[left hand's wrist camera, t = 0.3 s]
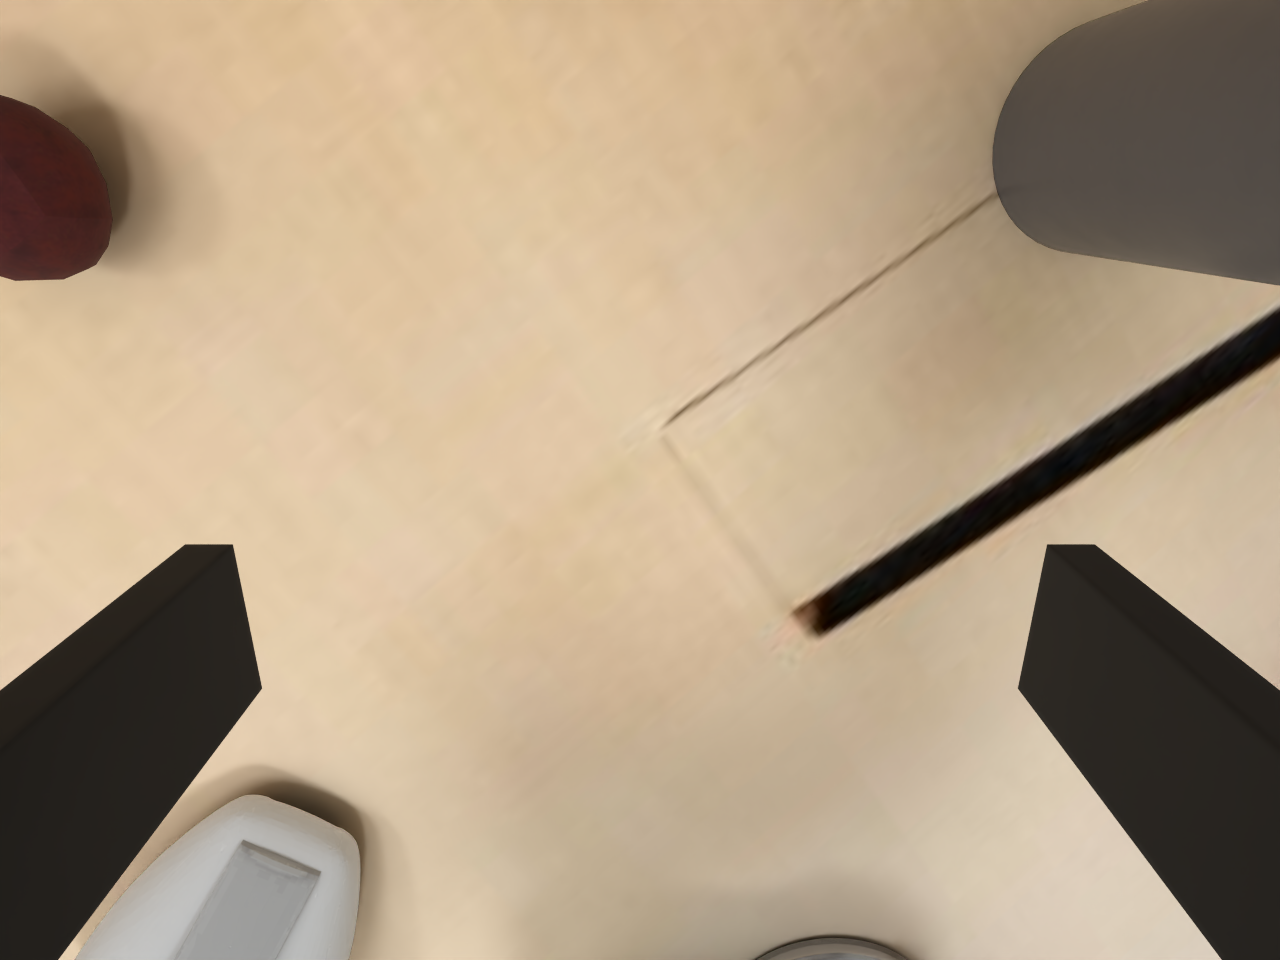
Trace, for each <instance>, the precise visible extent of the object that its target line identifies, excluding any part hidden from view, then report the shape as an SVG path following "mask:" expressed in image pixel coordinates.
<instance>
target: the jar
mask: <svg viewBox="0 0 1280 960" xmlns="http://www.w3.org/2000/svg"><path fill="white" fill-rule="evenodd" d="M993 171H994V179H995V184H996V188H997V192H998V194H999V197H1000V200H1001V202H1002V205H1003V206H1004V208H1005V210H1006V212H1007V213H1008V215H1009V217H1010V218H1011V219H1012V220H1013V222H1014V223H1015V224H1016V226H1017V227H1018V228H1019V229H1021V230H1022V231H1023V232H1024V233H1025V234H1026V235H1027V236H1029V237H1030V238H1032V239H1033V240H1035V241H1036V242H1038V243H1040V244H1042V245H1044V246H1046V247H1048V248H1052V249H1055V250H1058V251H1062V252H1068V253H1075V254H1081V255H1088V256H1094V257H1100V258H1107V259H1113V260H1120V261H1126V262H1132V263H1139V264H1145V265H1152V266H1158V267H1164V268H1171V269H1177V270H1184V271H1190V272H1197V273H1203V274H1209V275H1216V276H1222V277H1229V278H1235V279H1241V280H1248V281H1254V282H1261V283H1267V284H1273V285H1280V0H1148V1H1145V2H1142V3H1140V4H1137V5H1134V6H1131V7H1129V8H1126V9H1123V10H1120V11H1118V12H1115V13H1112V14H1109V15H1107V16H1104V17H1101V18H1098V19H1096V20H1093V21H1090V22H1088V23H1085V24H1083V25H1081V26H1079V27H1076V28H1074V29H1072V30H1071V31H1069V32H1067V33H1066V34H1064V35H1062V36H1060V37H1059V38H1058V39H1056V40H1055V41H1054V42H1052V43H1051V44H1050V45H1048V46H1047V47H1046V48H1045V49H1044V50H1043V51H1042V52H1041V53H1040V54H1039V55H1038V56H1037V57H1035V58H1034V59H1033V61H1032V62H1031V63H1030V64H1029V65H1028V67H1027V68H1026V69H1025V70H1024V71H1023V73H1022V74H1021V76H1020V77H1019V79H1018V80H1017V82H1016V83H1015V85H1014V86H1013V88H1012V90H1011V92H1010V94H1009V96H1008V98H1007V99H1006V101H1005V104H1004V106H1003V109H1002V112H1001V114H1000V117H999V120H998V124H997V128H996V132H995V138H994V145H993Z"/></svg>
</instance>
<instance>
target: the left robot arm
mask: <svg viewBox="0 0 1280 960" xmlns="http://www.w3.org/2000/svg"><path fill="white" fill-rule="evenodd" d="M261 689H262V686H261V681H260V676H259V671H258V666H257V661H256V656H255V651H254V647H253V642H252V637H251V632H250V627H249V622H248V617H247V612H246V607H245V602H244V597H243V592H242V587H241V583H240V578H239V573H238V568H237V563H236V558H235V553H234V548H233V545H184V546H183V547H181V548H180V549H179V550H178V551H176V552H175V553H174V554H173V555H171V556H170V557H169V558H168V559H166V560H165V561H164V562H162V563H161V564H160V565H159V566H157V567H156V568H155V569H154V570H152V571H151V572H150V573H149V574H147V575H146V576H145V577H143V578H142V579H141V580H140V581H138V582H137V583H136V584H135V585H133V586H132V587H131V588H130V589H128V590H127V591H126V592H124V593H123V594H122V595H121V596H119V597H118V598H117V599H116V600H114V601H113V602H112V603H111V604H109V605H108V606H107V607H105V608H104V609H103V610H102V611H100V612H99V613H98V614H97V615H95V616H94V617H93V618H92V619H90V620H89V621H88V622H86V623H85V624H84V625H83V626H81V627H80V628H79V629H78V630H76V631H75V632H74V633H73V634H71V635H70V636H69V637H67V638H66V639H65V640H64V641H62V642H61V643H60V644H59V645H57V646H56V647H55V648H54V649H52V650H51V651H50V652H48V653H47V654H46V655H45V656H43V657H42V658H41V659H40V660H38V661H37V662H36V663H34V664H33V665H32V666H31V667H29V668H28V669H27V670H26V671H24V672H23V673H22V674H21V675H19V676H18V677H17V678H15V679H14V680H13V681H12V682H10V683H9V684H8V685H7V686H5V687H4V688H3V689H2V690H0V960H58V959H59V958H60V957H61V955H62V954H63V953H64V951H65V950H66V949H67V947H68V946H69V945H70V943H71V942H72V941H73V939H74V938H75V937H76V935H77V934H78V933H79V931H80V930H81V929H82V927H83V926H84V925H85V923H86V922H87V921H88V919H89V918H90V917H91V915H92V914H93V913H94V911H95V910H96V909H97V907H98V906H99V905H100V903H101V902H102V901H103V899H104V898H105V897H106V895H107V894H108V893H109V891H110V890H111V889H112V887H113V886H114V885H115V883H116V882H117V881H118V879H119V878H120V877H121V875H122V874H123V873H124V871H125V870H126V869H127V867H128V866H129V865H130V863H131V862H132V861H133V859H134V858H135V857H136V855H137V854H138V853H139V851H140V850H141V849H142V847H143V846H144V845H145V843H146V842H147V841H148V839H149V838H150V837H151V835H152V834H153V833H154V831H155V830H156V829H157V828H158V826H159V825H160V824H161V822H162V821H163V820H164V818H165V817H166V816H167V814H168V813H169V812H170V810H171V809H172V808H173V806H174V805H175V804H176V802H177V801H178V800H179V798H180V797H181V796H182V794H183V793H184V792H185V790H186V789H187V788H188V786H189V785H190V784H191V782H192V781H193V780H194V778H195V777H196V776H197V774H198V773H199V772H200V770H201V769H202V768H203V766H204V765H205V764H206V762H207V761H208V760H209V758H210V757H211V756H212V754H213V753H214V752H215V750H216V749H217V748H218V746H219V745H220V744H221V742H222V741H223V740H224V738H225V737H226V736H227V734H228V733H229V732H230V730H231V729H232V728H233V726H234V725H235V724H236V722H237V721H238V720H239V718H240V717H241V716H242V714H243V713H244V712H245V710H246V709H247V708H248V706H249V705H250V704H251V702H252V701H253V700H254V698H255V697H256V696H257V694H258V693H259V692H260V690H261ZM1018 689H1019V690H1020V692H1021V693H1022V694H1023V696H1024V697H1025V698H1026V700H1027V701H1028V702H1029V704H1030V705H1031V706H1032V708H1033V709H1034V710H1035V712H1036V713H1037V714H1038V716H1039V717H1040V718H1041V720H1042V721H1043V722H1044V724H1045V725H1046V726H1047V728H1048V729H1049V730H1050V732H1051V733H1052V734H1053V736H1054V737H1055V738H1056V740H1057V741H1058V742H1059V744H1060V745H1061V746H1062V748H1063V749H1064V750H1065V752H1066V753H1067V754H1068V756H1069V757H1070V758H1071V760H1072V761H1073V762H1074V764H1075V765H1076V766H1077V768H1078V769H1079V770H1080V772H1081V773H1082V774H1083V776H1084V777H1085V778H1086V780H1087V781H1088V782H1089V784H1090V785H1091V786H1092V788H1093V789H1094V790H1095V792H1096V793H1097V794H1098V796H1099V797H1100V798H1101V800H1102V801H1103V802H1104V804H1105V805H1106V806H1107V808H1108V809H1109V810H1110V812H1111V813H1112V814H1113V816H1114V817H1115V818H1116V820H1117V821H1118V822H1119V824H1120V825H1121V826H1122V828H1123V829H1124V830H1125V831H1126V833H1127V834H1128V835H1129V837H1130V838H1131V839H1132V841H1133V842H1134V843H1135V845H1136V846H1137V847H1138V849H1139V850H1140V851H1141V853H1142V854H1143V855H1144V857H1145V858H1146V859H1147V861H1148V862H1149V863H1150V865H1151V866H1152V867H1153V869H1154V870H1155V871H1156V873H1157V874H1158V875H1159V877H1160V878H1161V879H1162V881H1163V882H1164V883H1165V885H1166V886H1167V887H1168V889H1169V890H1170V891H1171V893H1172V894H1173V895H1174V897H1175V898H1176V899H1177V901H1178V902H1179V903H1180V905H1181V906H1182V907H1183V909H1184V910H1185V911H1186V913H1187V914H1188V915H1189V917H1190V918H1191V919H1192V921H1193V922H1194V923H1195V925H1196V926H1197V927H1198V929H1199V930H1200V931H1201V933H1202V934H1203V935H1204V937H1205V938H1206V939H1207V941H1208V942H1209V943H1210V945H1211V946H1212V947H1213V949H1214V950H1215V951H1216V953H1217V954H1218V955H1219V957H1220V958H1221V959H1222V960H1280V690H1278V689H1277V688H1276V687H1275V686H1273V685H1272V684H1271V683H1270V682H1268V681H1267V680H1266V679H1265V678H1263V677H1262V676H1261V675H1259V674H1258V673H1257V672H1256V671H1254V670H1253V669H1252V668H1251V667H1249V666H1248V665H1247V664H1246V663H1244V662H1243V661H1242V660H1240V659H1239V658H1238V657H1237V656H1235V655H1234V654H1233V653H1232V652H1230V651H1229V650H1228V649H1226V648H1225V647H1224V646H1223V645H1221V644H1220V643H1219V642H1218V641H1216V640H1215V639H1214V638H1213V637H1211V636H1210V635H1209V634H1207V633H1206V632H1205V631H1204V630H1202V629H1201V628H1200V627H1199V626H1197V625H1196V624H1195V623H1194V622H1192V621H1191V620H1190V619H1188V618H1187V617H1186V616H1185V615H1183V614H1182V613H1181V612H1180V611H1178V610H1177V609H1176V608H1175V607H1173V606H1172V605H1171V604H1169V603H1168V602H1167V601H1166V600H1164V599H1163V598H1162V597H1161V596H1159V595H1158V594H1157V593H1156V592H1154V591H1153V590H1152V589H1150V588H1149V587H1148V586H1147V585H1145V584H1144V583H1143V582H1142V581H1140V580H1139V579H1138V578H1137V577H1135V576H1134V575H1133V574H1131V573H1130V572H1129V571H1128V570H1126V569H1125V568H1124V567H1123V566H1121V565H1120V564H1119V563H1118V562H1116V561H1115V560H1114V559H1112V558H1111V557H1110V556H1109V555H1107V554H1106V553H1105V552H1104V551H1102V550H1101V549H1100V548H1099V547H1097V546H1096V545H1047V548H1046V553H1045V558H1044V563H1043V568H1042V573H1041V578H1040V583H1039V587H1038V592H1037V597H1036V602H1035V607H1034V612H1033V617H1032V622H1031V627H1030V632H1029V637H1028V642H1027V647H1026V651H1025V656H1024V661H1023V666H1022V671H1021V676H1020V681H1019V686H1018ZM757 960H907V959H906V958H904V957H903V956H901V955H900V954H898V953H896V952H894V951H892V950H890V949H888V948H886V947H883V946H880V945H878V944H874V943H871V942H867V941H862V940H856V939H848V938H821V939H812V940H807V941H801V942H797V943H793V944H790V945H787V946H784V947H781V948H779V949H776V950H774V951H771V952H770V953H768V954H766V955H764V956H762V957H760V958H759V959H757Z"/></svg>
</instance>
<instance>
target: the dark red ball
mask: <svg viewBox="0 0 1280 960" xmlns="http://www.w3.org/2000/svg"><path fill="white" fill-rule="evenodd" d="M112 220H113V219H112V213H111V208H110V202H109V196H108V191H107V185H106V182H105V180H104V178H103V176H102V174H101V172H100V170H99V168H98V166H97V164H96V162H95V160H94V158H93V156H92V154H91V151H90V150H89V149H88V148H87V147H86V146H85V145H84V144H83V143H82V142H81V141H80V140H79V139H78V138H77V137H76V136H75V135H74V134H73V133H72V132H71V131H70V130H69V129H68V128H66V127H65V126H63V125H62V124H60V123H58V122H57V121H55V120H54V119H52V118H51V117H49V116H48V115H46V114H45V113H43V112H42V111H40V110H39V109H37V108H36V107H33V106H30V105H28V104H25V103H22V102H20V101H17V100H15V99H12V98H9V97H5V96H2V95H0V276H1V277H5V278H8V279H11V280H15V281H21V280H55V279H65V278H68V277H70V276H72V275H75V274H77V273H79V272H82V271H84V270H86V269H88V268H90V267H92V266H94V265H96V264H97V262H98V261H99V259H100V258H101V256H102V255H103V253H104V252H105V250H106V249H107V247H108V245H109V239H110V233H111V226H112Z"/></svg>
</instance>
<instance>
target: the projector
mask: <svg viewBox="0 0 1280 960" xmlns="http://www.w3.org/2000/svg"><path fill="white" fill-rule="evenodd" d="M359 893H360V854H359V849H358V845H357V842H356V841H355V839H354V838H353V837H352V836H351V835H350V834H349V833H348V832H347V831H345V830H344V829H342V828H339V827H336V826H334V825H332V824H331V823H329V822H327V821H325V820H323V819H321V818H319V817H317V816H315V815H312V814H310V813H308V812H305V811H303V810H301V809H298V808H296V807H293V806H290V805H288V804H285V803H282V802H278V801H275V800H273V799H271V798H269V797H267V796H263V795H254V794H252V795H244V796H242V797H239V798H237V799H234V800H233V801H231V802H229V803H227V804H226V805H224V806H222V807H221V808H219V809H218V810H216V811H215V812H213V813H212V814H210V815H209V816H208V817H206V818H205V819H203V820H202V821H201V822H199V823H198V824H197V825H195V826H194V827H193V828H192V829H190V830H189V831H188V832H186V833H185V834H184V835H183V836H182V837H181V838H179V839H178V840H177V841H176V842H175V843H173V844H172V845H171V846H170V847H169V848H168V849H166V850H165V851H164V852H163V853H162V854H161V855H160V856H159V857H158V858H157V859H156V860H155V861H154V862H152V863H151V864H150V865H149V866H148V868H147V869H146V870H145V871H144V872H143V873H142V874H141V875H140V876H139V877H138V878H137V879H136V880H135V881H134V882H133V883H132V884H131V885H130V886H129V887H128V889H127V890H126V891H125V892H124V893H123V894H122V896H121V897H120V898H119V899H118V900H117V901H116V903H115V904H114V905H113V906H112V907H111V909H110V910H109V911H108V913H107V914H106V915H105V917H104V918H103V919H102V921H101V922H100V923H99V925H98V926H97V927H96V929H95V930H94V931H93V933H92V934H91V936H90V937H89V939H88V940H87V941H86V943H85V944H84V946H83V947H82V949H81V950H80V952H79V953H78V955H77V956H76V958H75V960H349V957H350V953H351V948H352V944H353V939H354V933H355V928H356V920H357V913H358V905H359Z"/></svg>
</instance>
